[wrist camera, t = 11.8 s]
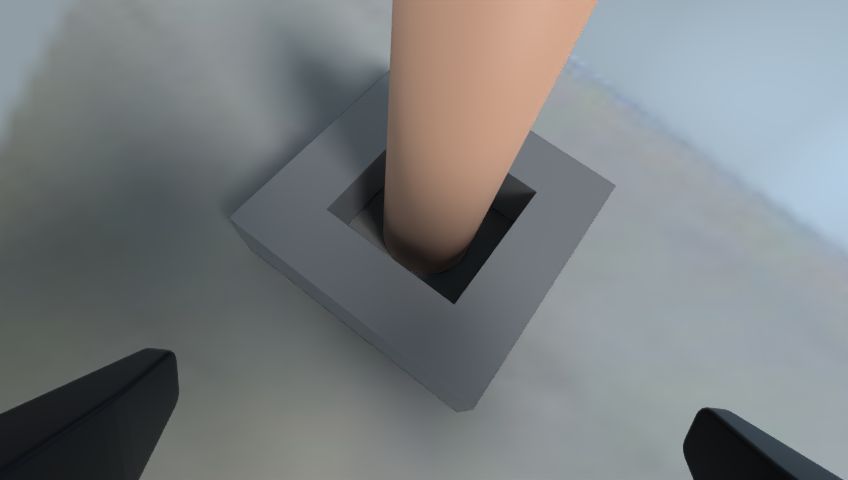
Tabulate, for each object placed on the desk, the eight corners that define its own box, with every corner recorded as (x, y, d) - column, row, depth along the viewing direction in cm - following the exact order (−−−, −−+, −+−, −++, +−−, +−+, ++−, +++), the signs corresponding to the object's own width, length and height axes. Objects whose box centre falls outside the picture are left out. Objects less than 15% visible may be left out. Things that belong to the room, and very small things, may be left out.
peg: (436, 291, 19) (568, 4, 6) (364, 238, 19) (345, -124, 7) (486, 226, 20) (676, -114, 7) (418, 179, 21) (486, -210, 8)
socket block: (457, 412, 17) (473, 409, 14) (249, 248, 19) (228, 217, 16) (584, 216, 21) (616, 185, 18) (404, 97, 23) (409, 52, 20)
